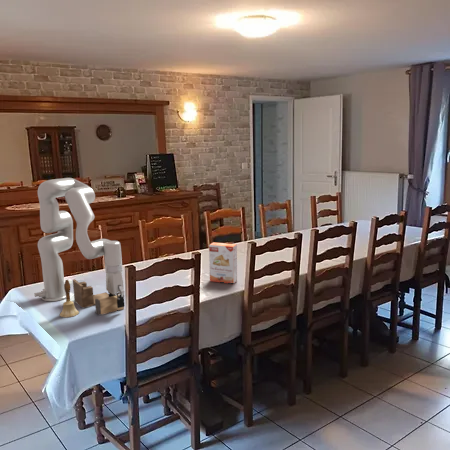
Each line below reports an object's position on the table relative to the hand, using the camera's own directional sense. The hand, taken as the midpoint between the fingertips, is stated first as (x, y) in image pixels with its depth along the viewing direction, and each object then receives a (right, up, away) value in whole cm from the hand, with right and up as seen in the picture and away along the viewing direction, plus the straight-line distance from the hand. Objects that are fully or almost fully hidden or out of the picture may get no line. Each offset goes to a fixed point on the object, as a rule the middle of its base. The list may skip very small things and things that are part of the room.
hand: (116, 304), depth 208 cm
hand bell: (-20, -4, -4) cm, 21 cm away
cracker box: (+49, +5, +38) cm, 62 cm away
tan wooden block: (-3, -3, -1) cm, 4 cm away
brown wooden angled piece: (-14, 0, +12) cm, 18 cm away
